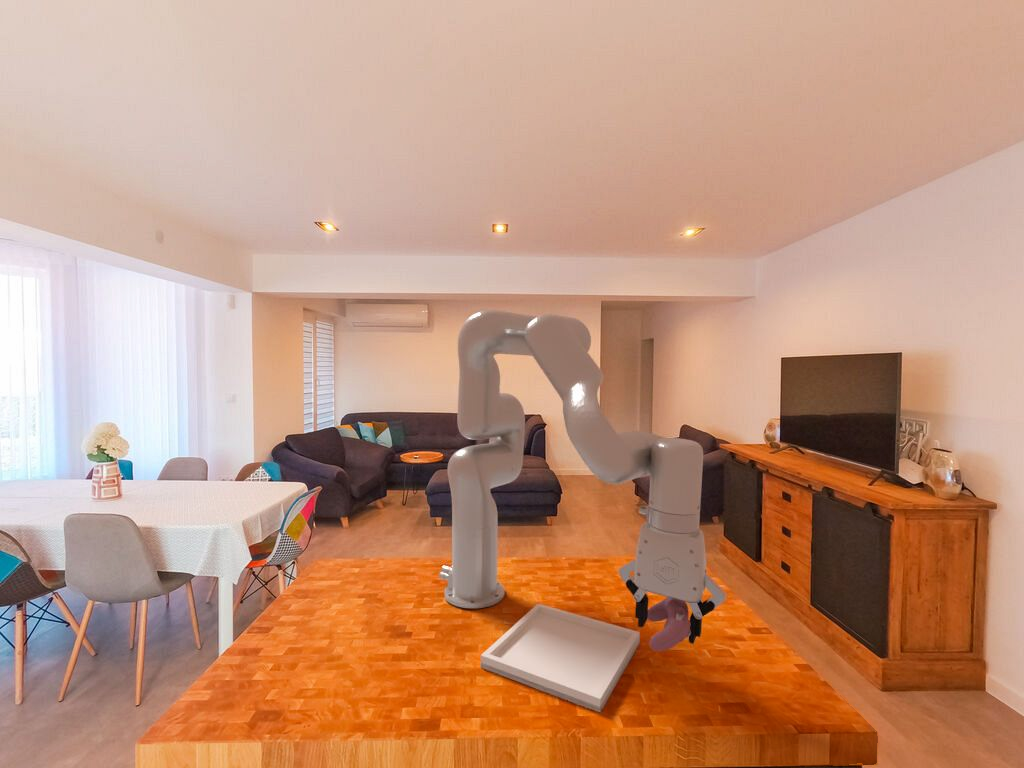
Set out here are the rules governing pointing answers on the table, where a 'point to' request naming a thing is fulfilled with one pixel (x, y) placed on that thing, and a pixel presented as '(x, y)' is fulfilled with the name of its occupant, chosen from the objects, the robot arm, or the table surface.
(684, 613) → the video game controller
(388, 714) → the table surface
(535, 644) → the tray
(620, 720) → the table surface
